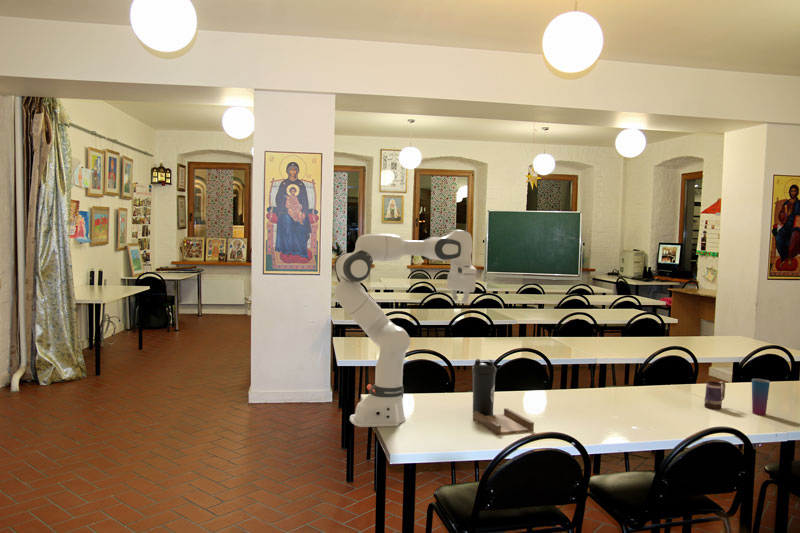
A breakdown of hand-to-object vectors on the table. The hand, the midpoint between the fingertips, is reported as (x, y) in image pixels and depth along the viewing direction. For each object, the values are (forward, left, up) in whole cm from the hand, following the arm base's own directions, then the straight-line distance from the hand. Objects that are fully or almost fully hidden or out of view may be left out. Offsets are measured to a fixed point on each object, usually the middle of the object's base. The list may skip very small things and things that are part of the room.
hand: (459, 301), depth 241 cm
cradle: (+11, -19, -48) cm, 53 cm away
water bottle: (+11, -3, -48) cm, 49 cm away
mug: (+121, -22, -48) cm, 132 cm away
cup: (+132, -35, -48) cm, 145 cm away
